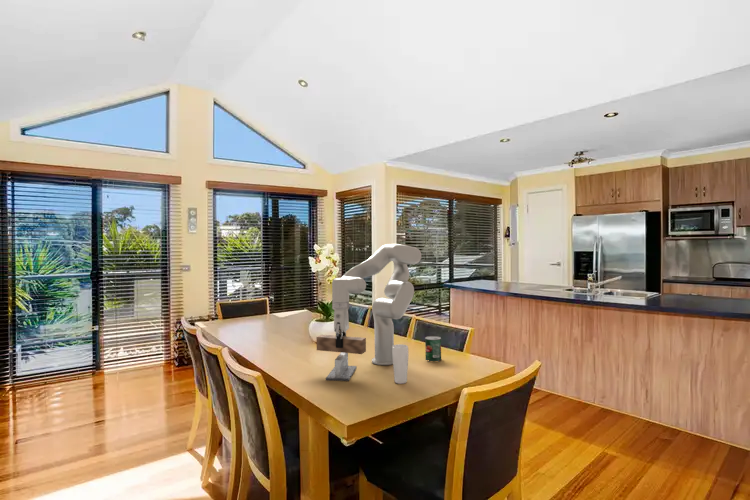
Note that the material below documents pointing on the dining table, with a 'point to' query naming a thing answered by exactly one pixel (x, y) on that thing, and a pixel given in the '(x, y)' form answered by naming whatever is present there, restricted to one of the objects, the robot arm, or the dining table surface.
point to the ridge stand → (341, 369)
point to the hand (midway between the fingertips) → (341, 345)
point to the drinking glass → (400, 363)
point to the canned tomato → (433, 348)
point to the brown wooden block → (349, 344)
